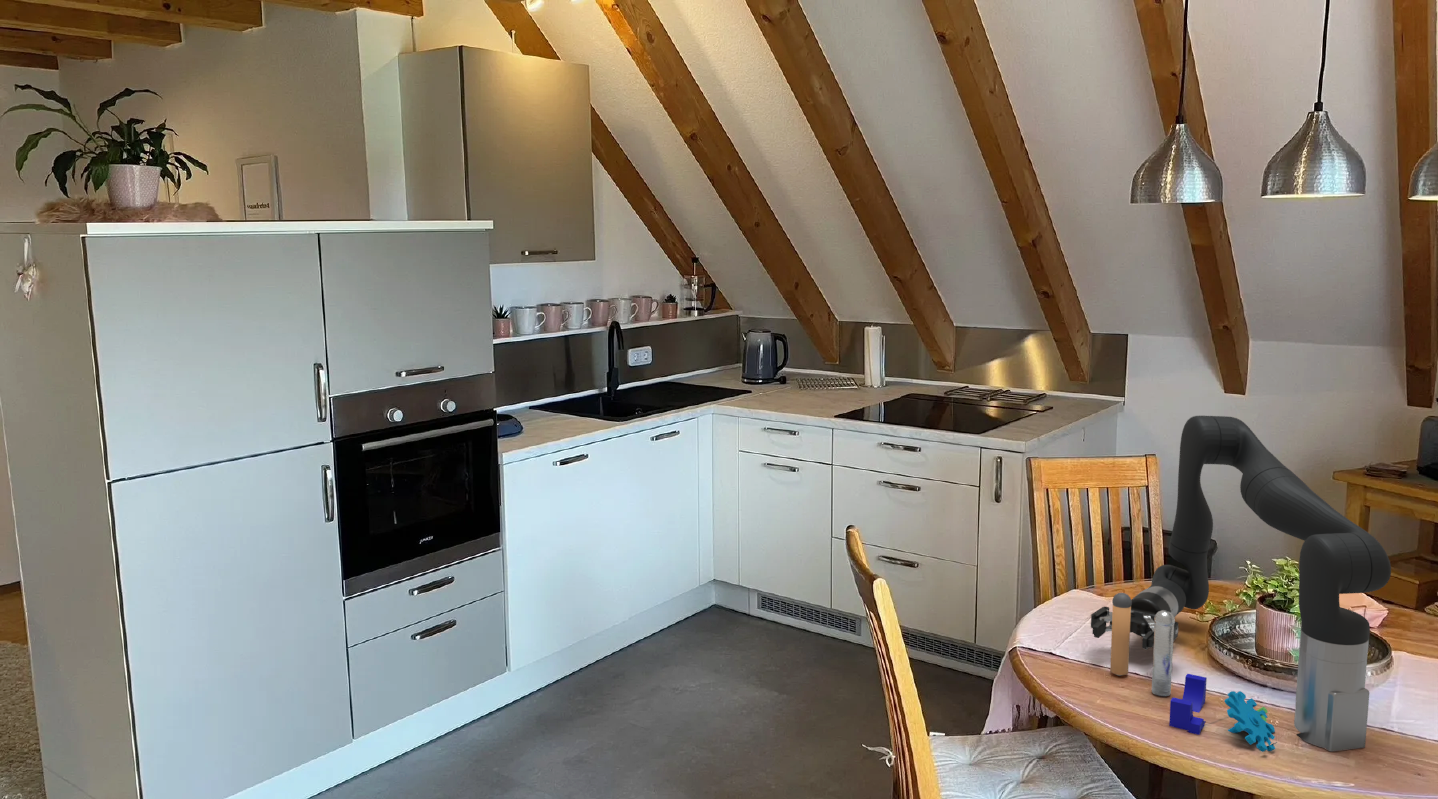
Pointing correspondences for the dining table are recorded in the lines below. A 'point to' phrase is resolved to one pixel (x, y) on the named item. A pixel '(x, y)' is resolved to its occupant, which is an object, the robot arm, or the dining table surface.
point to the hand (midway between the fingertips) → (1119, 638)
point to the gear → (1250, 720)
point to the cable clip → (1189, 705)
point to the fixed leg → (1163, 653)
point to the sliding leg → (1120, 634)
